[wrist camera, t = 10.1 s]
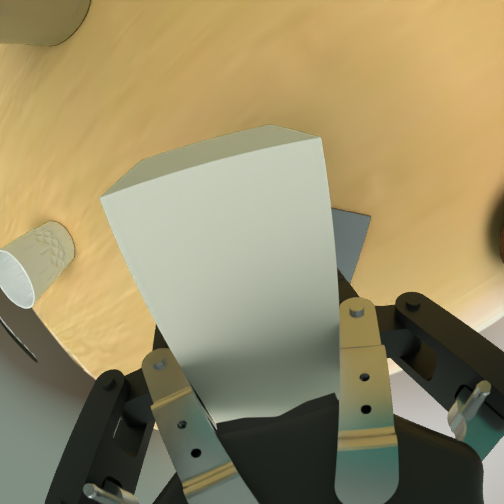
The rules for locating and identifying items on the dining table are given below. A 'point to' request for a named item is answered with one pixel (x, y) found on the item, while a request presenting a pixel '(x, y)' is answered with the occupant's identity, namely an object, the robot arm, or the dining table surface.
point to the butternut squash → (502, 245)
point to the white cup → (34, 262)
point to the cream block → (237, 266)
